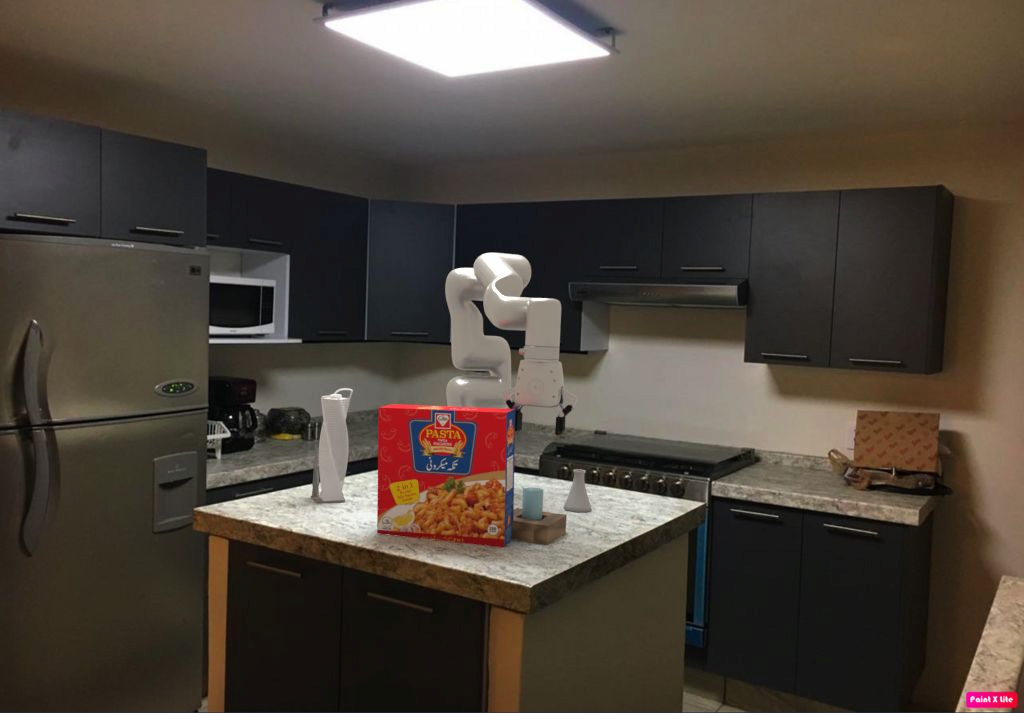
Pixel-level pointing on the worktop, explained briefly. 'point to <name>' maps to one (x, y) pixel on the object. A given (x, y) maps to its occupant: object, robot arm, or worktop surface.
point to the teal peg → (532, 503)
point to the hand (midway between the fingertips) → (538, 432)
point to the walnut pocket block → (538, 527)
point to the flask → (578, 494)
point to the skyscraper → (332, 450)
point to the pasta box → (446, 473)
